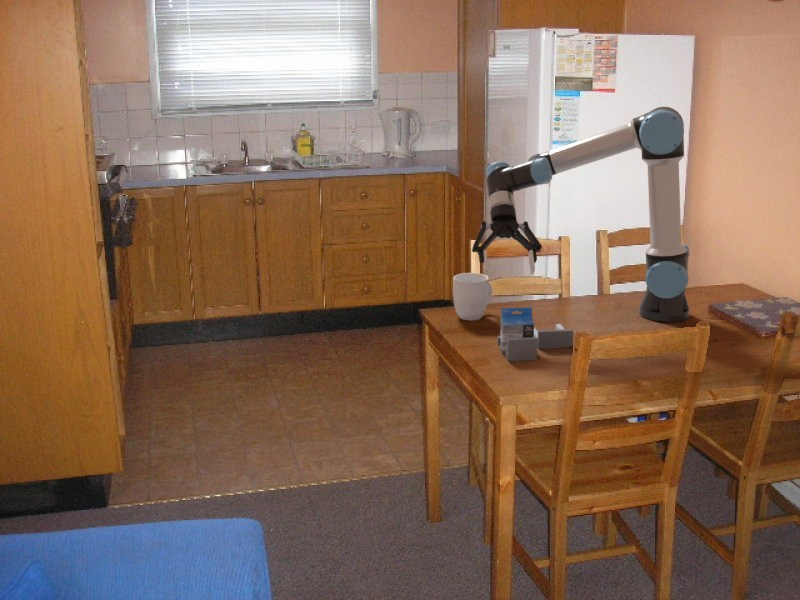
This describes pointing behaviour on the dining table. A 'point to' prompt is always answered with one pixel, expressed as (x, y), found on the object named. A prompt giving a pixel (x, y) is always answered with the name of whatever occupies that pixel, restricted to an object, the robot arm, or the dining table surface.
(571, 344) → the dock
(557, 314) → the dining table surface
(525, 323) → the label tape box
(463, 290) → the mug
